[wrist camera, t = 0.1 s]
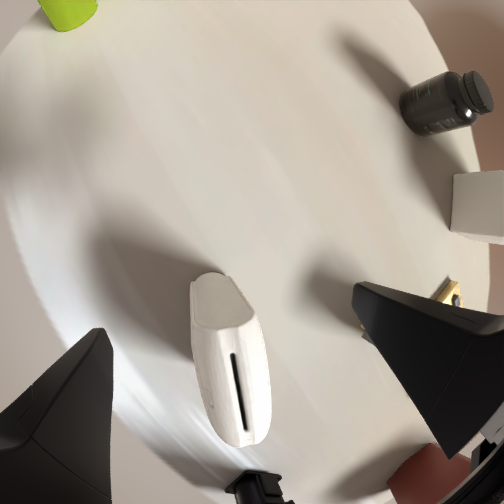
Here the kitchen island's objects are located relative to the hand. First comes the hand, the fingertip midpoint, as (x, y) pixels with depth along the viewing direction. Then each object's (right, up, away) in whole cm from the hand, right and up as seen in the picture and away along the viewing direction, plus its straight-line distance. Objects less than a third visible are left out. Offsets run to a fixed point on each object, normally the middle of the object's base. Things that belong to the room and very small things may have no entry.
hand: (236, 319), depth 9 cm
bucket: (+40, -51, +32) cm, 72 cm away
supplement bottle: (+22, +21, +19) cm, 36 cm away
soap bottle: (+33, +9, +23) cm, 41 cm away
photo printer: (-3, -5, +16) cm, 17 cm away
